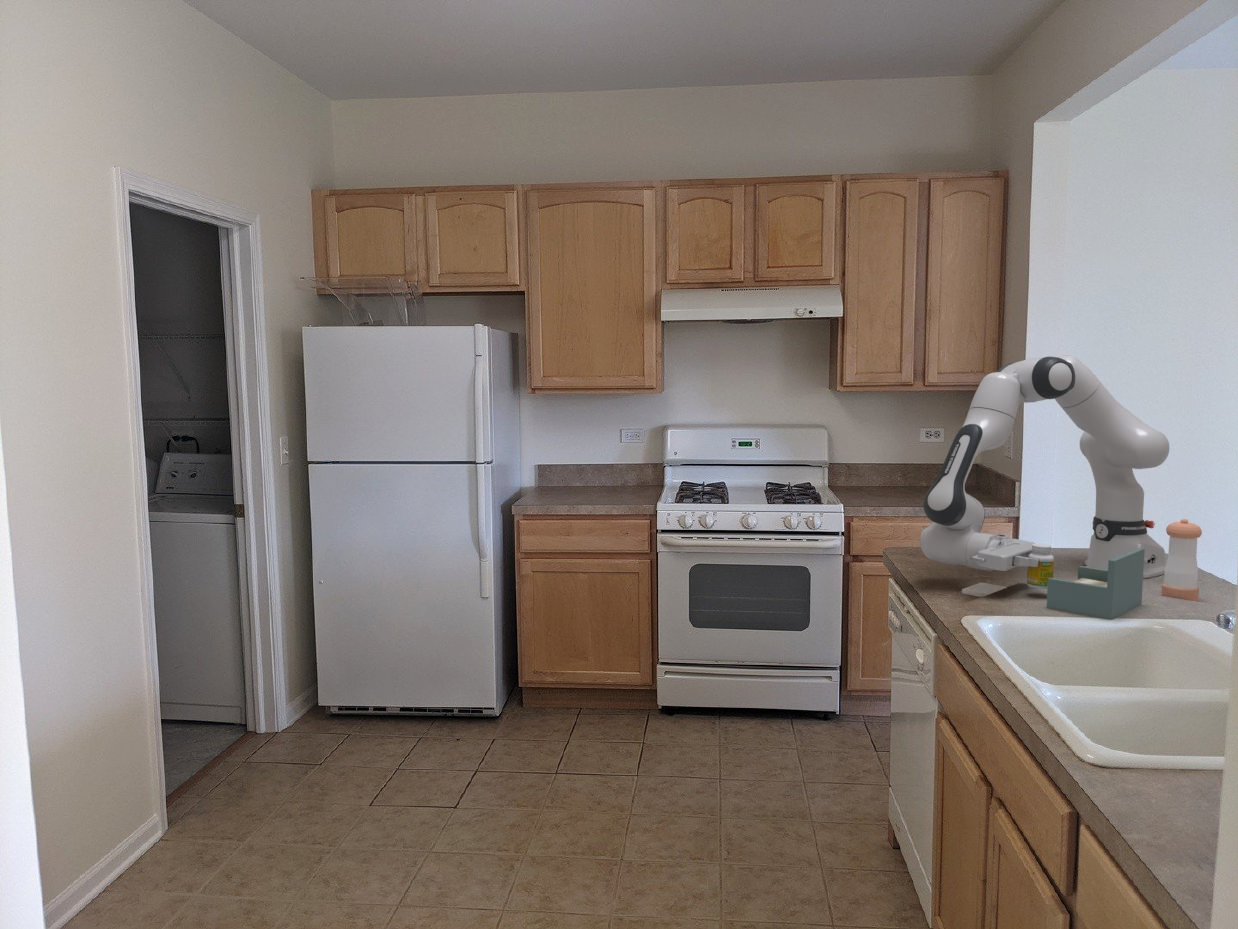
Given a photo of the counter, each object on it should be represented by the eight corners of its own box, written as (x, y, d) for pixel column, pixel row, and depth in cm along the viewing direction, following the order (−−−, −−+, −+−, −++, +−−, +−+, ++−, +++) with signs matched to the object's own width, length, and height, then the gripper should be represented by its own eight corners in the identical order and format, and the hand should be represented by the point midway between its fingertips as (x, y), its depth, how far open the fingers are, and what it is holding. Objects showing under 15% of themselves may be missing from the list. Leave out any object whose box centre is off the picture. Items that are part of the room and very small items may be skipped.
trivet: (961, 593, 214) (961, 589, 214) (980, 586, 220) (981, 582, 220) (1002, 601, 206) (1003, 596, 206) (1021, 593, 213) (1021, 589, 213)
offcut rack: (1046, 614, 195) (1049, 551, 194) (1078, 599, 207) (1081, 540, 206) (1111, 626, 185) (1114, 561, 184) (1141, 610, 198) (1144, 548, 196)
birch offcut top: (1060, 592, 196) (1060, 585, 196) (1082, 584, 203) (1082, 578, 203) (1103, 600, 189) (1103, 593, 189) (1124, 591, 196) (1124, 585, 196)
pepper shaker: (1163, 595, 211) (1168, 515, 209) (1199, 600, 206) (1205, 518, 204) (1158, 601, 205) (1163, 519, 203) (1195, 606, 201) (1201, 523, 199)
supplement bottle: (1040, 590, 201) (1042, 548, 200) (1021, 585, 206) (1023, 544, 205) (1057, 588, 203) (1060, 546, 202) (1038, 582, 208) (1040, 542, 207)
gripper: (966, 544, 206) (1026, 553, 196) (1005, 533, 220) (1063, 541, 210) (965, 571, 207) (1024, 581, 197) (1003, 558, 221) (1061, 567, 211)
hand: (1044, 561), depth 203 cm, fingers closed on supplement bottle, 5 cm apart
